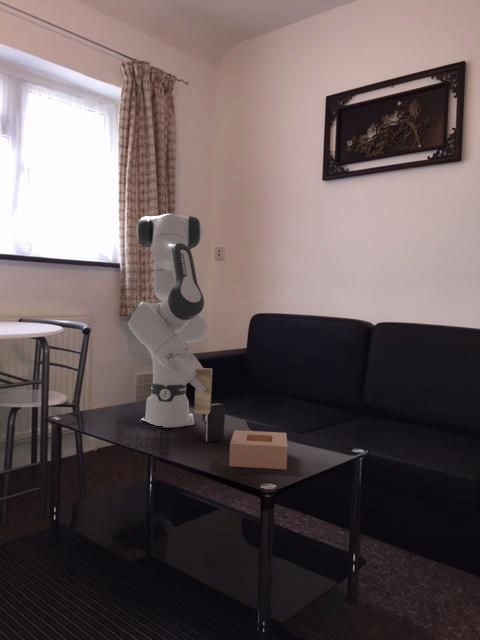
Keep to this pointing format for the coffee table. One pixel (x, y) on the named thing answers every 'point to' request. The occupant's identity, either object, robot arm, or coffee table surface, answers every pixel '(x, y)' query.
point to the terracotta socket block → (258, 449)
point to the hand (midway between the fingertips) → (205, 389)
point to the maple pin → (204, 398)
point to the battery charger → (214, 423)
